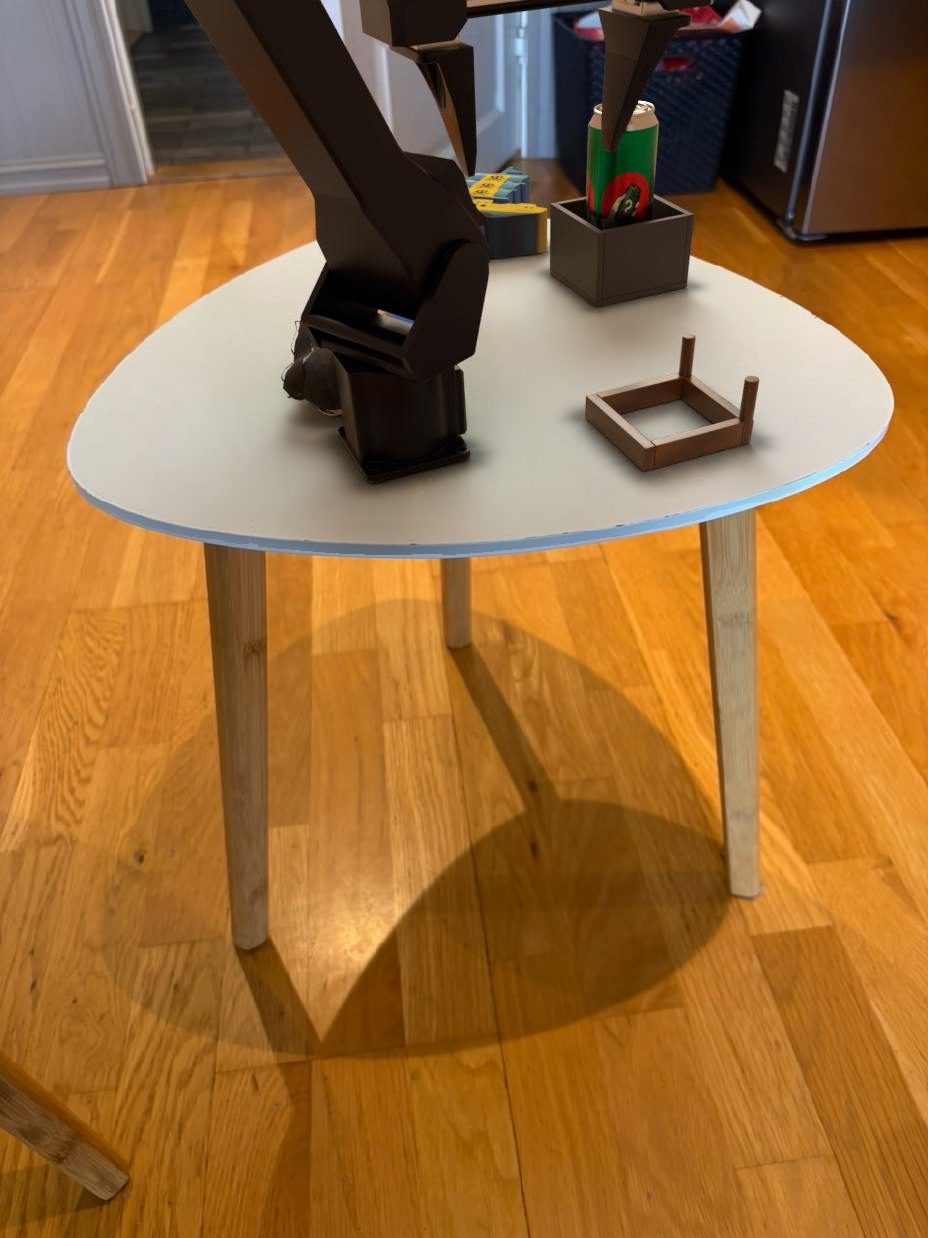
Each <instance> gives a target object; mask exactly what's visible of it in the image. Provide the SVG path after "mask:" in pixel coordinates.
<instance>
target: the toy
mask: <svg viewBox="0 0 928 1238" xmlns="http://www.w3.org/2000/svg"><path fill="white" fill-rule="evenodd" d="M465 179H466V183H467V186H468V189H469V192H470V195H471V198H472V200H473V202H474V204H475V205H476V207H477V208H478V210H479V211H480V212H481V213H483V214H484V215H485V216H487V218H488V222H487V224H485V225H483V226H480V228H481V230H482V231H483V233H484V235H485V239H486V242H487V245H488V248H489V255H490V259H491V258H492V259H500V258H509V257H510V258H512V257H518V256H526V255H527V256H528V255H535V254H541V253H544V252H546V251H547V250H548V208H546V207H542V206H537V204H536V203H530V176H529V175H528V174H527V175H525V174H524V172H522V171H519V170H516V169H515V167H514V166H509V167H506V169H504V170H503V171H502V172H501V171H500V173H498V172H483V171H477V172H475V175H474V176H473V177H467V176H466V177H465Z"/></svg>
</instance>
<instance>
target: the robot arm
mask: <svg viewBox="0 0 928 1238" xmlns="http://www.w3.org/2000/svg"><path fill="white" fill-rule="evenodd" d="M358 1H359V11H360V20H361V28H362V33H363V34H364V35H367V36H369V37H371V38H373V39H375V40H376V41H379V42H381V43H384V44H385V45H388V47H389V50H390V51H392V52H394V53H395V54H398V55H401V56H402V57H405V58H407V59H408V60H411V61H412V62H414V64H415V66H416V67H417V69H418V70H419V72H420V74H421V75H422V77H423V79H424V81H425V82H426V85H427V87H428V88H429V90H430V93H431V96H432V97H433V99H434V101H435V104H436V106H437V109H438V111H439V114H440V117H441V119H442V122H443V125H444V127H445V130H446V133H447V135H448V138H449V142H450V144H451V145H452V146H451V147H452V149H453V152H454V154H455V157H456V160H457V162H458V164H457V162H456V160H454V159H452V158H447V157H441V156H436V155H430V154H425V153H420V152H415V151H410V150H406V149H405V150H404V149H402V148H401V146H400V145H399V143H398V141H397V139H396V137H395V135H394V134H393V132H392V130H391V128H390V126H389V124H388V123H387V121H386V119H385V117H384V116H383V113H382V111H381V109H380V108H379V106H378V104H377V102H376V100H375V98H374V97H373V95H372V93H371V91H370V90H369V89H370V88H369V87H368V85H367V84H366V82H365V80H364V78H363V75H362V74H361V72H360V70H359V68H358V67H357V65H356V63H355V61H354V60H353V57H352V55H351V54H350V52H349V50H348V48H347V46H346V44H345V43H344V40H343V39H342V37H341V35H340V33H339V32H338V29H337V27H336V26H335V24H334V21H333V20H332V18H331V17H330V15H329V13H328V11H327V9H326V7H325V5H324V3H323V2H322V0H183V2H184V3H185V4H186V6H187V7H188V9H189V10H190V12H191V13H192V15H193V16H194V18H195V19H196V21H197V22H198V23H199V25H200V27H201V28H202V30H203V32H204V33H205V34H206V36H207V37H208V39H209V40H210V42H211V43H212V45H213V46H214V48H215V49H216V51H217V52H218V54H219V56H220V57H221V58H222V60H223V61H224V63H225V65H226V67H228V69H229V71H230V72H231V73H232V75H233V77H234V78H235V79H236V82H237V83H238V84H239V86H240V87H241V89H242V90H243V92H244V93H245V94H246V96H247V98H248V99H249V100H250V103H252V105H253V106H254V109H256V111H257V112H258V114H259V116H260V118H261V119H262V120H263V122H264V123H265V124H266V126H267V127H268V129H269V131H270V132H271V134H272V136H273V137H274V138H275V140H276V142H277V143H278V145H279V146H280V147H281V149H282V150H283V152H284V153H285V155H286V156H287V158H288V160H290V162H291V164H292V165H293V166H294V168H295V170H296V171H297V173H298V174H299V176H300V177H301V179H302V180H303V182H304V183H305V184H306V186H307V188H308V189H309V191H310V193H311V196H312V197H313V200H314V201H313V203H314V226H315V229H314V231H315V239H316V242H317V245H318V247H319V249H320V251H321V253H322V255H323V257H324V260H325V262H324V265H323V266H322V269H321V271H320V273H319V276H318V277H317V280H316V282H315V284H314V286H313V288H312V291H311V293H310V295H309V297H308V299H307V302H306V304H305V306H304V308H303V310H302V312H301V314H300V320H301V323H302V325H303V327H304V329H305V330H306V332H307V334H308V336H309V338H310V340H311V342H312V344H313V345H314V346H316V347H319V348H326V349H328V350H331V351H333V356H334V363H335V369H336V376H337V383H338V389H339V396H340V402H341V409H342V414H341V415H342V420H343V426H342V425H341V426H340V427H338V428H337V433H338V438H339V439H340V441H341V442H342V444H343V446H344V447H345V449H346V451H347V452H348V454H349V456H350V457H351V459H352V460H353V462H354V463H355V465H356V467H357V468H358V471H360V473H361V475H362V477H363V478H364V480H365V481H366V482H368V483H378V482H382V481H386V480H389V479H393V478H397V477H400V476H401V477H402V476H405V475H409V474H414V473H416V472H420V471H425V470H428V469H432V468H436V467H439V466H444V465H449V464H451V463H457V462H459V461H463V460H467V459H470V457H471V446H469V444H468V443H467V442H466V441H465V439H464V438H463V437H462V435H466V432H467V431H468V424H467V423H468V421H467V406H466V405H467V404H466V389H465V387H466V386H465V372H464V370H463V369H462V368H461V367H460V365H459V364H461V363H463V362H464V361H466V360H468V359H470V358H471V357H473V356H474V355H475V354H476V350H477V343H478V339H479V334H480V329H481V322H482V317H483V312H484V311H483V310H484V307H485V300H486V295H487V291H488V290H487V289H488V284H489V276H490V263H491V258H490V255H489V248H488V245H487V242H486V239H485V235H484V233H483V231H482V230H481V228H480V226H483V225H485V224H487V222H488V218H487V216H485V215H484V214H483V213H481V212H480V211H479V210H478V208H477V207H476V205H475V204H474V202H473V200H472V198H471V195H470V192H469V189H468V186H467V183H466V178H467V177H473V176H474V175H475V173H476V168H477V157H478V138H477V137H478V135H477V134H478V133H477V110H476V109H477V108H476V107H477V106H476V76H475V75H476V73H475V50H474V46H473V45H471V44H468V43H465V42H463V41H460V32H461V31H462V30H463V28H464V27H465V25H466V24H467V22H468V21H469V19H470V20H471V19H477V18H485V17H491V16H501V15H508V14H509V15H510V14H515V13H523V12H524V13H525V12H530V11H539V10H547V9H553V8H561V7H568V6H569V7H570V6H576V5H583V4H593V3H599V2H608V1H609V0H358ZM713 4H714V0H611V6H605V7H599V8H597V13H598V17H599V22H600V26H601V30H602V34H603V39H604V45H605V53H604V67H603V70H604V71H603V82H602V83H603V85H602V101H601V104H602V114H601V133H602V147H603V149H604V150H606V151H608V152H614V151H616V149H617V147H618V145H619V143H620V141H621V139H622V136H623V134H624V132H625V130H626V128H627V126H628V124H629V121H630V119H631V117H632V115H633V113H634V111H635V109H636V107H637V104H638V102H639V101H641V98H642V95H643V93H644V92H645V89H646V88H647V85H648V84H649V82H650V80H651V78H652V76H653V74H654V73H655V70H656V69H657V67H658V66H659V64H660V62H661V60H662V59H663V57H664V55H665V53H666V51H667V50H668V48H669V46H670V44H671V43H672V41H673V39H674V38H675V36H676V34H677V32H678V31H679V29H682V28H688V27H690V26H691V24H692V21H693V14H691V13H687V12H684V11H680V10H686V9H695V8H702V7H709V6H711V5H713ZM378 310H381V311H384V312H388V313H391V314H394V315H397V316H400V317H403V318H406V319H409V320H412V321H414V323H413V324H411V323H408V322H405V321H402V320H399V319H396V318H393V317H390V316H386V315H383V314H380V313H378Z"/></svg>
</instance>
